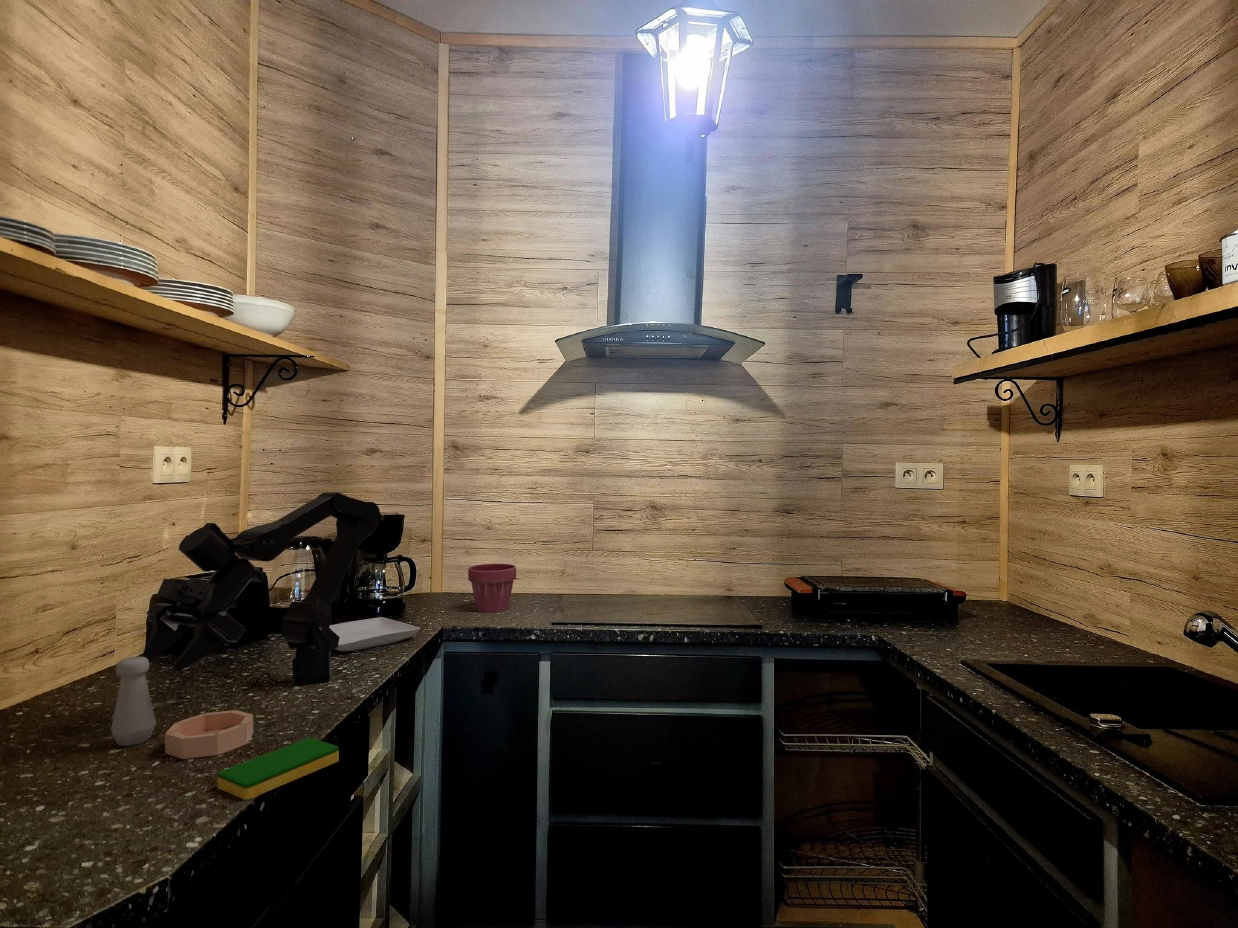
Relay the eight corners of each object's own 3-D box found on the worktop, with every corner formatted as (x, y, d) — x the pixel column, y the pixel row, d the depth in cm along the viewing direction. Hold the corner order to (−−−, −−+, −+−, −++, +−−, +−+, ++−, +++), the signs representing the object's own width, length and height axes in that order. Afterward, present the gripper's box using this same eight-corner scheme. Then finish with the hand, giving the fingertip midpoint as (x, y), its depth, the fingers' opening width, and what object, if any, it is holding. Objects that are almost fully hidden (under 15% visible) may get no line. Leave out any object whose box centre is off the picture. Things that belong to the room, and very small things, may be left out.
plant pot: (504, 615, 196) (503, 570, 196) (459, 613, 200) (459, 569, 200) (524, 605, 210) (523, 563, 210) (482, 603, 214) (481, 562, 214)
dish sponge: (340, 762, 100) (339, 746, 100) (245, 803, 89) (245, 784, 89) (310, 752, 104) (310, 736, 104) (216, 789, 92) (216, 771, 92)
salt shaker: (149, 730, 113) (148, 651, 113) (161, 739, 109) (160, 657, 109) (106, 742, 108) (105, 659, 108) (117, 751, 105) (116, 665, 105)
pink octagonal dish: (257, 725, 114) (257, 707, 114) (241, 752, 104) (241, 732, 104) (181, 734, 111) (181, 715, 111) (157, 762, 100) (157, 741, 100)
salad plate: (300, 643, 170) (300, 629, 170) (382, 627, 185) (381, 615, 185) (336, 659, 155) (336, 643, 155) (422, 641, 170) (422, 627, 170)
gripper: (158, 557, 121) (87, 633, 111) (226, 562, 113) (156, 645, 103) (202, 594, 128) (139, 669, 118) (269, 601, 120) (207, 683, 110)
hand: (158, 666), depth 112 cm, fingers open, 9 cm apart
